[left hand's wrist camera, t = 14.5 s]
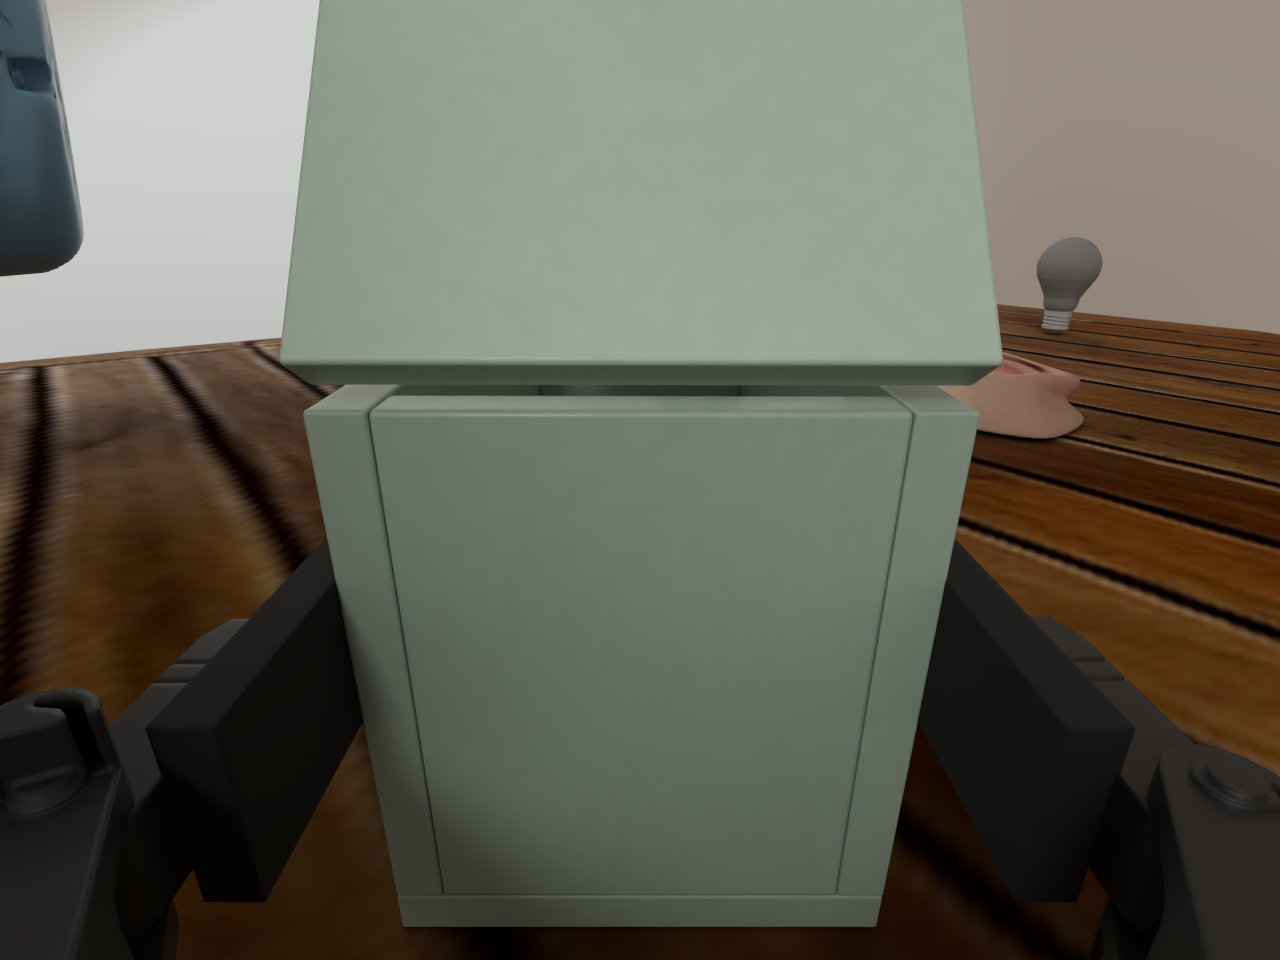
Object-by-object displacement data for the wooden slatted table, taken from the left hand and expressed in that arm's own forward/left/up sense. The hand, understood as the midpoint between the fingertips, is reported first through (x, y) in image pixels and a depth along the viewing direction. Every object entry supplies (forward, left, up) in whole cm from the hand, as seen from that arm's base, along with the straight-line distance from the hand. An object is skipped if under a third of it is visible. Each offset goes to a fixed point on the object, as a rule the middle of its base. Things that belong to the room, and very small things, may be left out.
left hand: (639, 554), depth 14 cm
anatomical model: (-10, +40, -6) cm, 41 cm away
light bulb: (-20, +77, -6) cm, 79 cm away
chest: (-4, +3, -6) cm, 8 cm away
